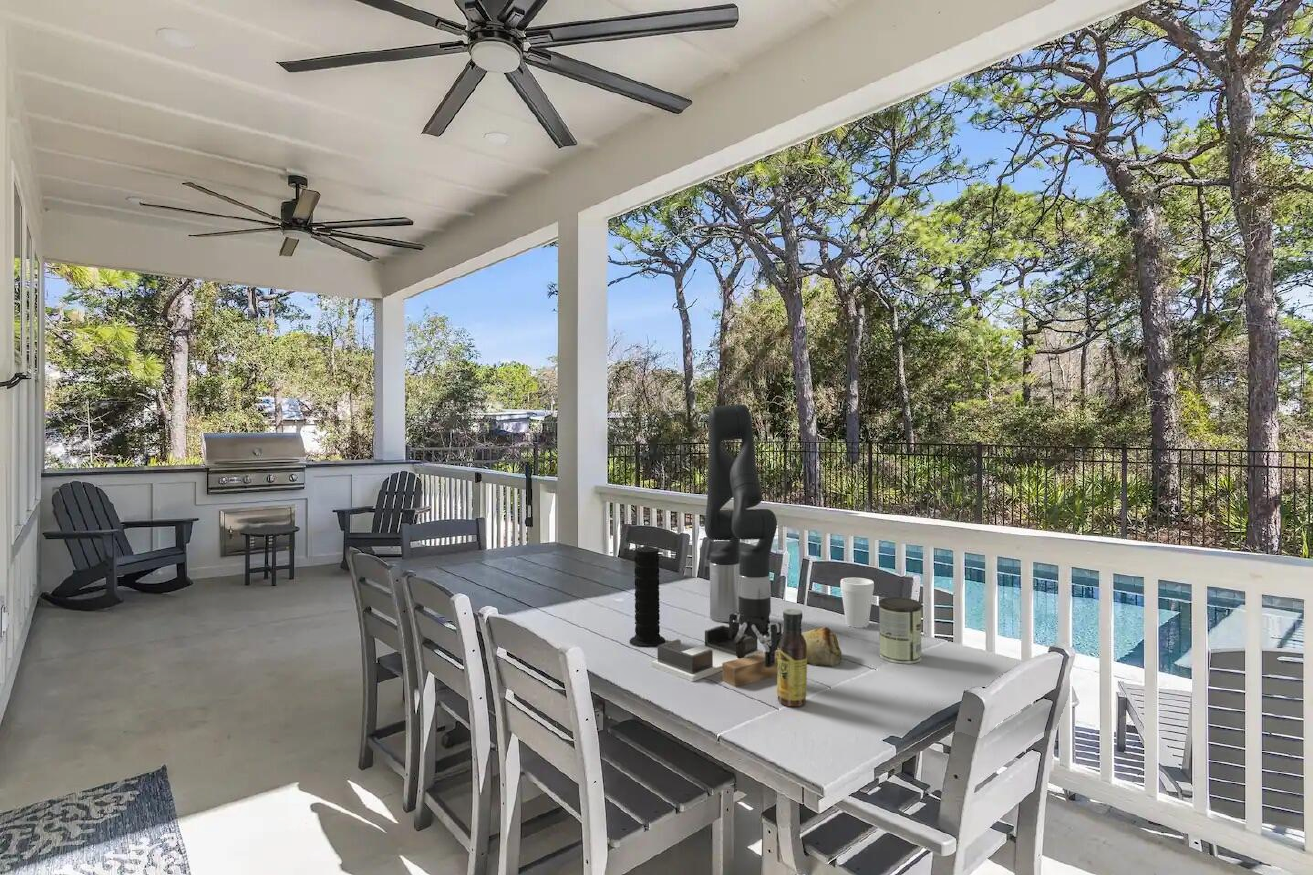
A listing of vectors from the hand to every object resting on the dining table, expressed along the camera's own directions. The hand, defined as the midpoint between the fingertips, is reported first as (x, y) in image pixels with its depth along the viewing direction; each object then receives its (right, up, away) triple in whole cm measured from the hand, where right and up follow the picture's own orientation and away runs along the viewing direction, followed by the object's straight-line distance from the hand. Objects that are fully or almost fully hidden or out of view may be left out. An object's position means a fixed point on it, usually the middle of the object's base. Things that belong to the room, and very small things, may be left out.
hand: (754, 662), depth 162 cm
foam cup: (+36, -3, +40) cm, 54 cm away
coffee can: (+39, -3, +13) cm, 41 cm away
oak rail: (0, -4, 0) cm, 4 cm away
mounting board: (-10, -3, +11) cm, 16 cm away
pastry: (+18, -3, +13) cm, 22 cm away
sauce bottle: (+6, -4, -15) cm, 16 cm away
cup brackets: (-10, -2, +11) cm, 15 cm away
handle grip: (-26, -3, +27) cm, 37 cm away
